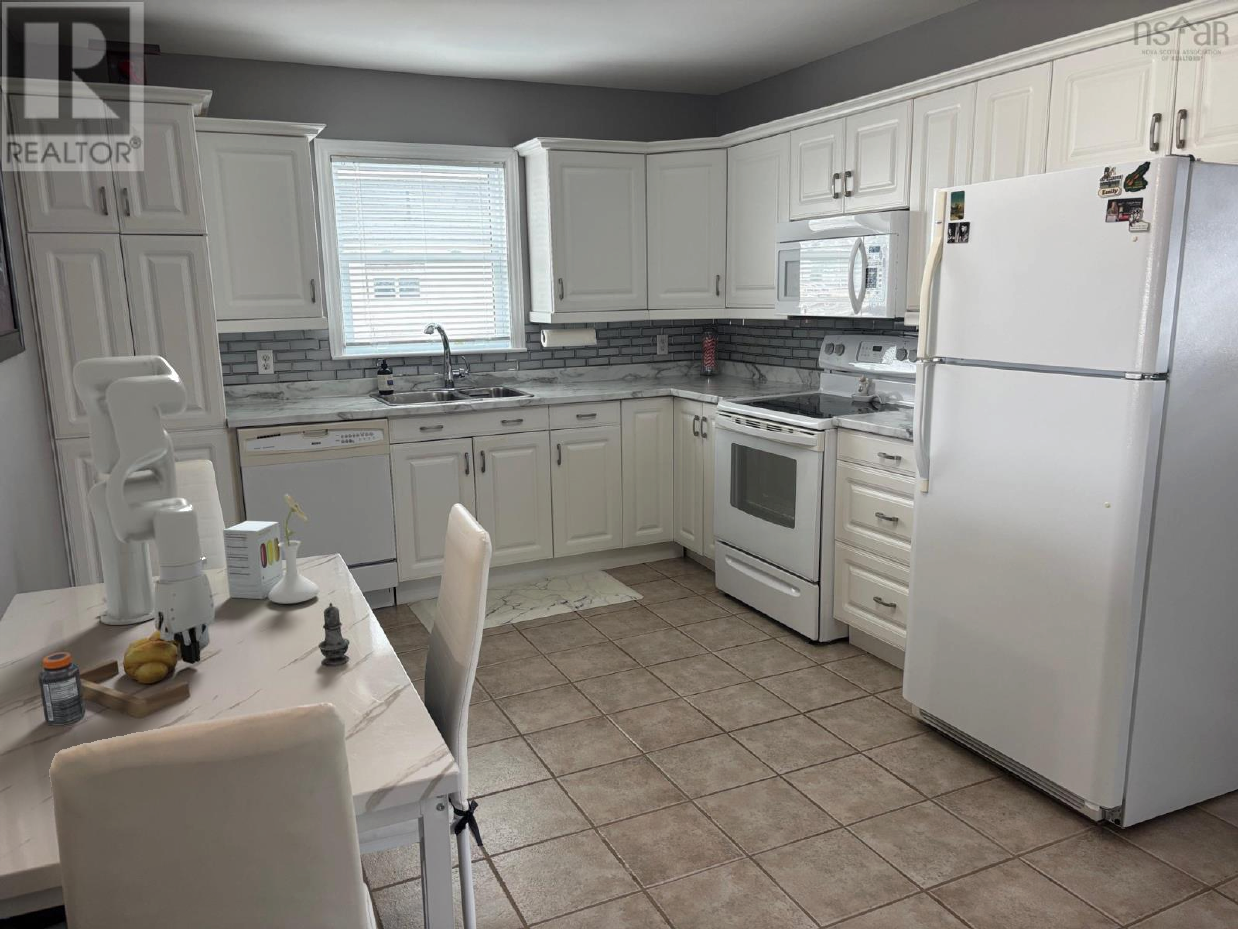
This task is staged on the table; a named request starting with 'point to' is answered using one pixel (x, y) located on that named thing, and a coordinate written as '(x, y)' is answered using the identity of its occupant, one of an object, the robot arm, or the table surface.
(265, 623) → the table surface
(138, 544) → the robot arm
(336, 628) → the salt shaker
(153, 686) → the table surface
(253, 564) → the supplement box
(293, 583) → the flower in vase
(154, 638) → the bread roll
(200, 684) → the table surface
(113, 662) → the brown angled bar
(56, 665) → the pill bottle
